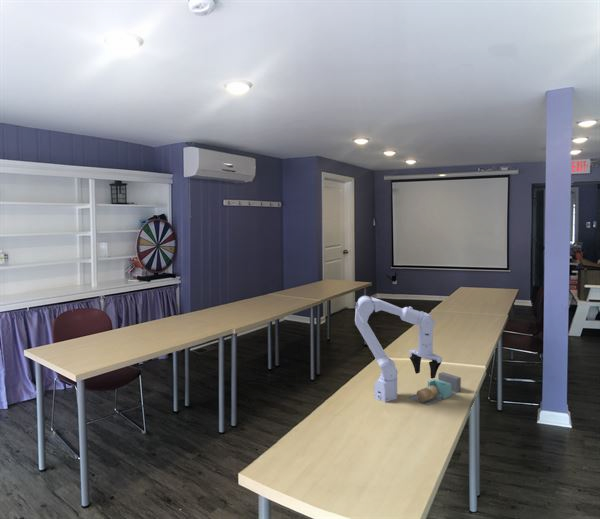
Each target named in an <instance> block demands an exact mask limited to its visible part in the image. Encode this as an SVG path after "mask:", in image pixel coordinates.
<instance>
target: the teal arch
mask: <svg viewBox="0 0 600 519" xmlns="http://www.w3.org/2000/svg"><path fill="white" fill-rule="evenodd" d="M431 385H433V386H435V387H436V388H437V389H438V392H439V394H442V397H441V398H443V399H442V400H445V399H446V398H449V397H452V396H451V395H452V394H451V384H450V383H447V382H444V381H441V380H438V379H437V378H433V379H430V380H428V381H427V387H429V386H431Z"/></svg>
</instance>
